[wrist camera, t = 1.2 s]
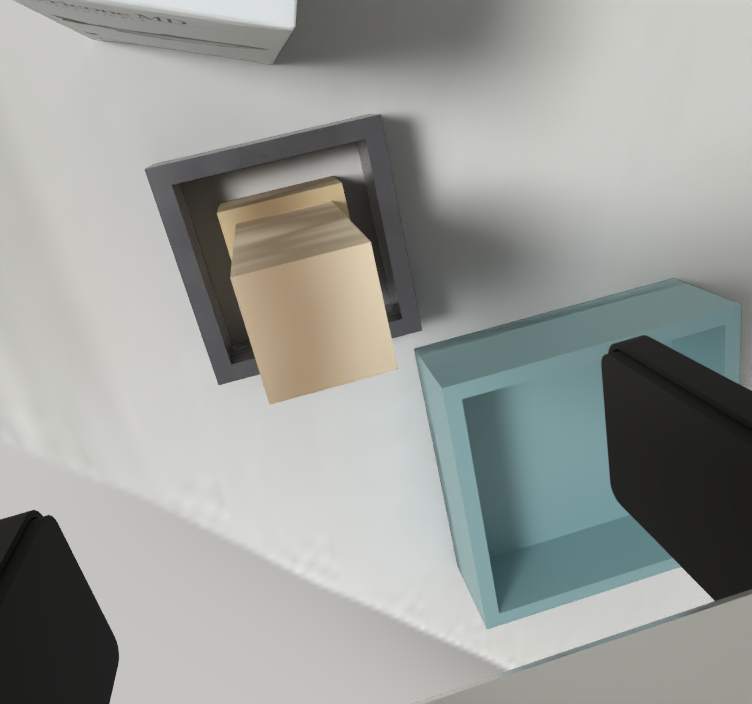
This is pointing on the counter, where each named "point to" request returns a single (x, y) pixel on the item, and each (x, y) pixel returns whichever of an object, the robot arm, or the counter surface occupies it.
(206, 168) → the collar
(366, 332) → the strut
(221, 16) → the supplement box
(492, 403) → the bin
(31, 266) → the counter surface
